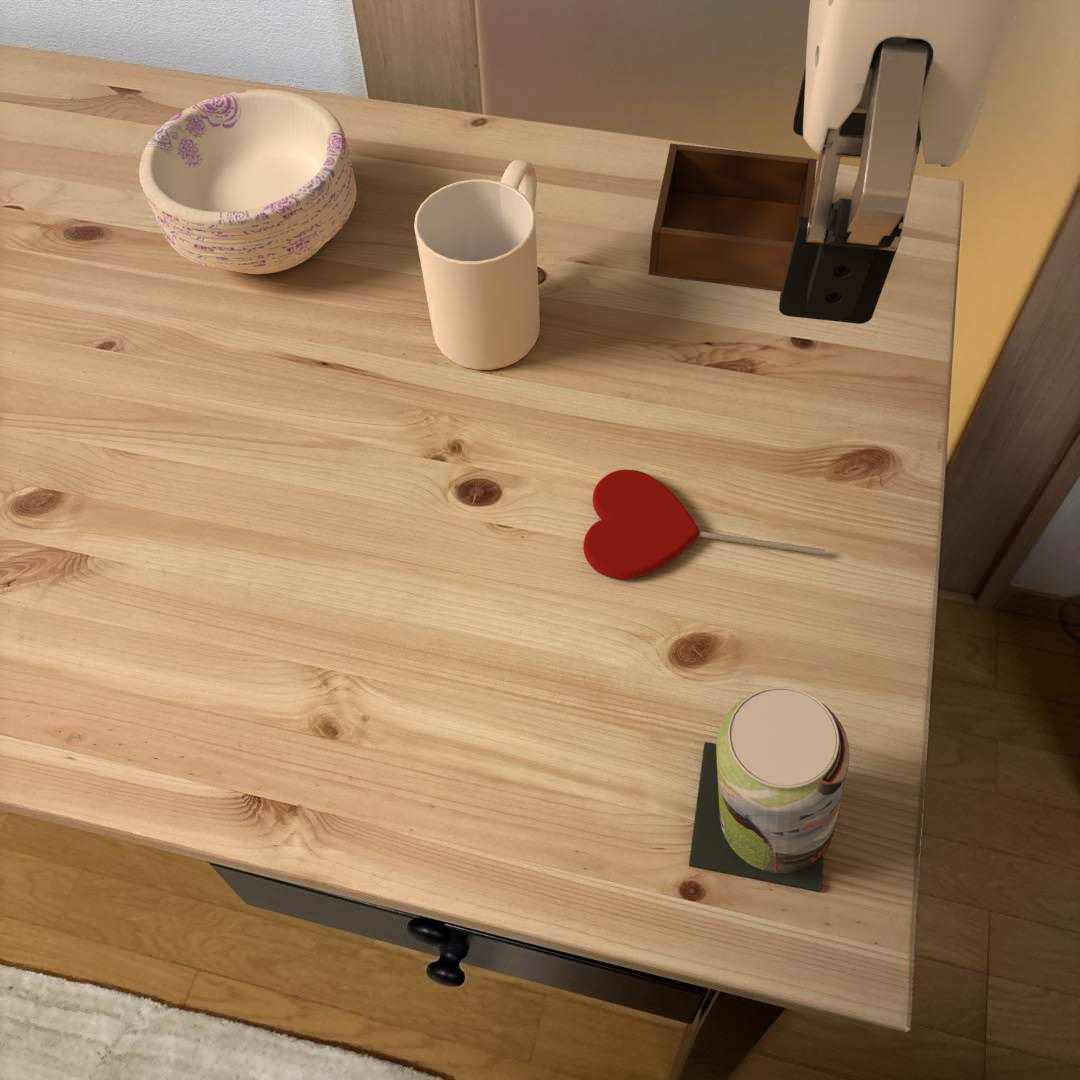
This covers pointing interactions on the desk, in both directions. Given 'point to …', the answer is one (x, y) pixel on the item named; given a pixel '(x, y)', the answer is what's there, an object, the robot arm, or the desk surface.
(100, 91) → the desk surface
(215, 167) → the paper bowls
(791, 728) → the beverage can
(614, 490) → the lollipop
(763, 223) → the wooden box
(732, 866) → the coaster
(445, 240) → the mug
